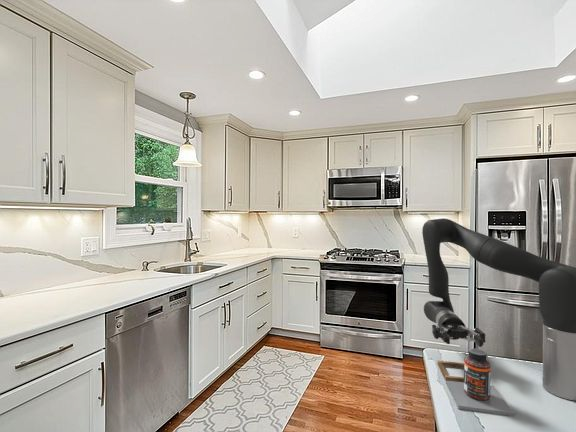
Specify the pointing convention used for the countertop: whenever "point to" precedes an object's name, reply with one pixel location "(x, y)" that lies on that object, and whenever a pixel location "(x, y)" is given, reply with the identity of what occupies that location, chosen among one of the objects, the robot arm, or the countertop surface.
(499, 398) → the plate
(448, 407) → the countertop surface
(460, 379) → the walnut frame
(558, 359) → the robot arm
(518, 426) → the countertop surface
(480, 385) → the supplement bottle
